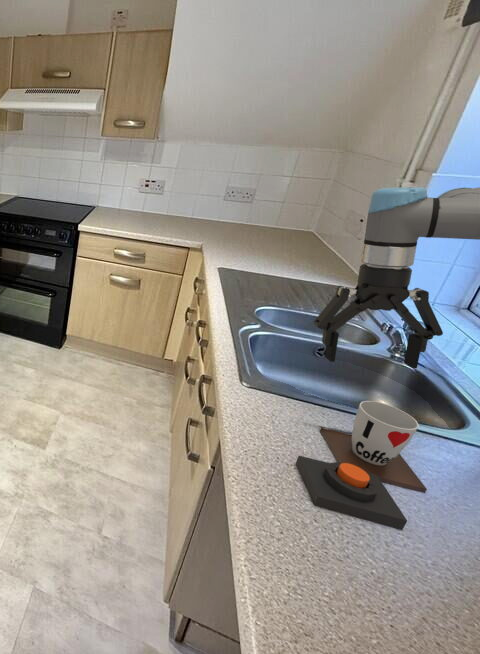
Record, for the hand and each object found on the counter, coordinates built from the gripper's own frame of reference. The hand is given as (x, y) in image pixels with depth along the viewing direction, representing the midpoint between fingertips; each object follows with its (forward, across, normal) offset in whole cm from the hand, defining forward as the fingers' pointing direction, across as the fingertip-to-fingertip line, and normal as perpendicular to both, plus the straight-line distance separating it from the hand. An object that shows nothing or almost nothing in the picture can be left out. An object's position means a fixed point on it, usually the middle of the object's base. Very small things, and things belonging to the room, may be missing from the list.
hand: (368, 362), depth 88 cm
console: (+16, +12, +23) cm, 31 cm away
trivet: (+16, +3, +12) cm, 20 cm away
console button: (+13, +11, +24) cm, 29 cm away
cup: (+15, +3, +12) cm, 19 cm away
